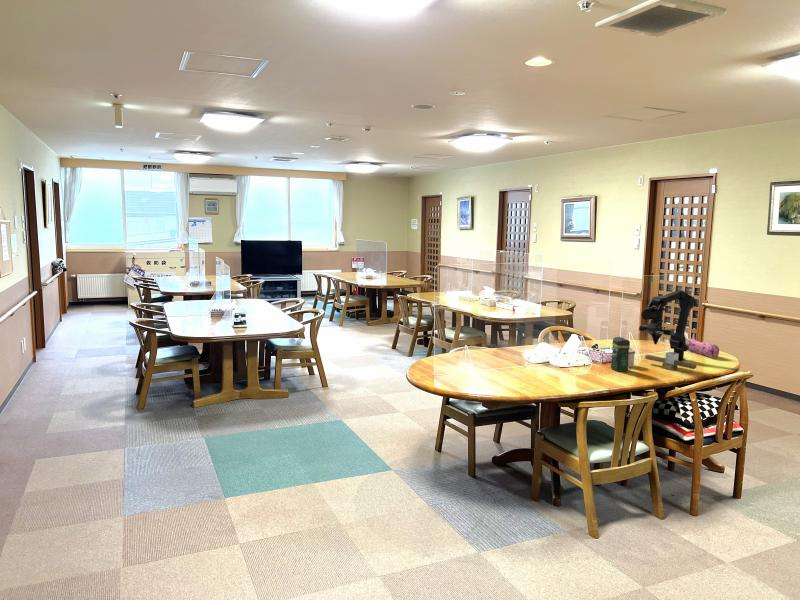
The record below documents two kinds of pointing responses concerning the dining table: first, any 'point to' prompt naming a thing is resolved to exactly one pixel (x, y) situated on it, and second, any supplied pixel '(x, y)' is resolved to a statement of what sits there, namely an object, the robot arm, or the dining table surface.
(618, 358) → the coffee jar
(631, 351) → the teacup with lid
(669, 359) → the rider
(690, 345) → the pencil case
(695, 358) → the dining table surface
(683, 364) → the beam
